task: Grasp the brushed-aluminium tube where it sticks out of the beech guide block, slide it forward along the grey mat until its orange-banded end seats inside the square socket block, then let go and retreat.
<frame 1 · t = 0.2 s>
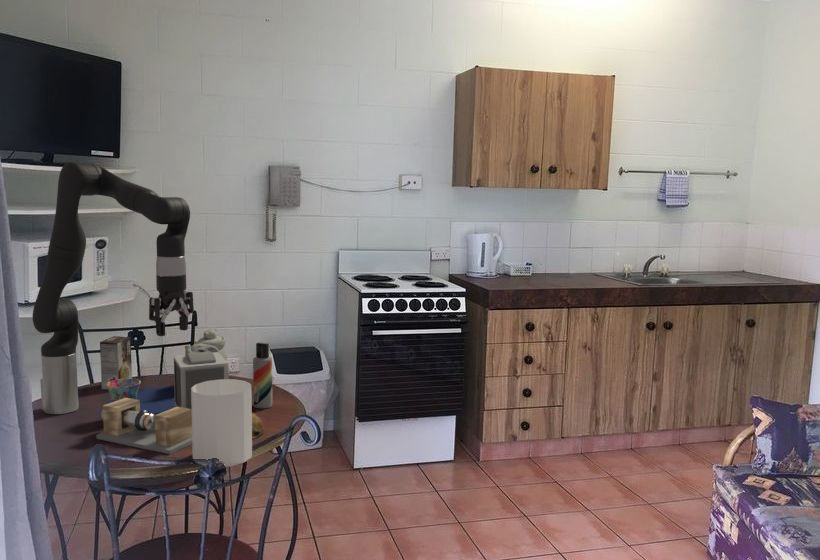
hand: (172, 332, 186), 28 cm above the table, fingers open, 8 cm apart
lotion bottle: (263, 406, 215), on the table
guide block: (122, 433, 189), resting on base mat
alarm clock: (201, 414, 207), on the table
base mat: (149, 438, 185), on the table
socket block: (174, 444, 182), resting on base mat
teapot: (204, 385, 236), on the table
tube: (129, 417, 187), point 5 cm above the table, slide at 0.0 cm
bread roll: (243, 435, 190), on the table
container: (223, 457, 174), on the table
coffee box: (117, 386, 233), on the table
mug: (127, 417, 203), on the table
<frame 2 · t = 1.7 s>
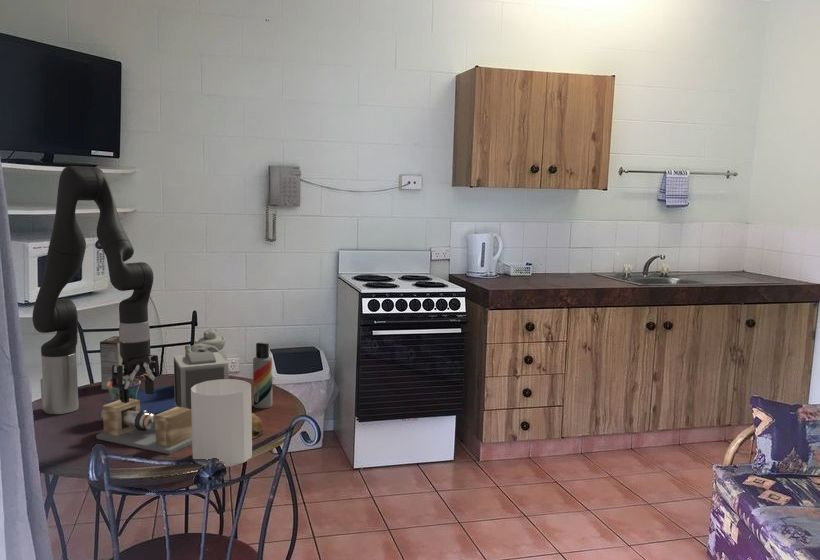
hand: (137, 398, 185), 11 cm above the table, fingers open, 8 cm apart
nothing on the table moved.
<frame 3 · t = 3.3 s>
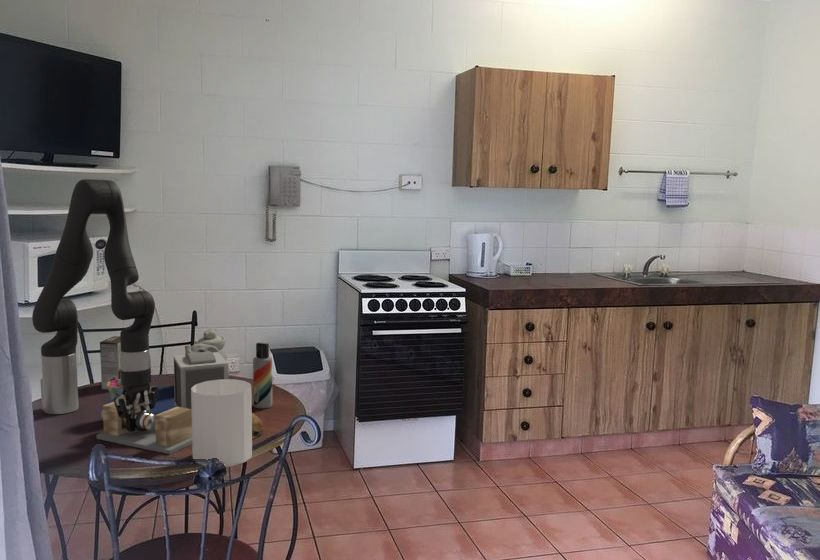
hand: (137, 428, 186), 2 cm above the table, fingers closed on tube, 4 cm apart
tube: (129, 417, 187), point 5 cm above the table, slide at 0.0 cm, touching gripper
everything else where it was.
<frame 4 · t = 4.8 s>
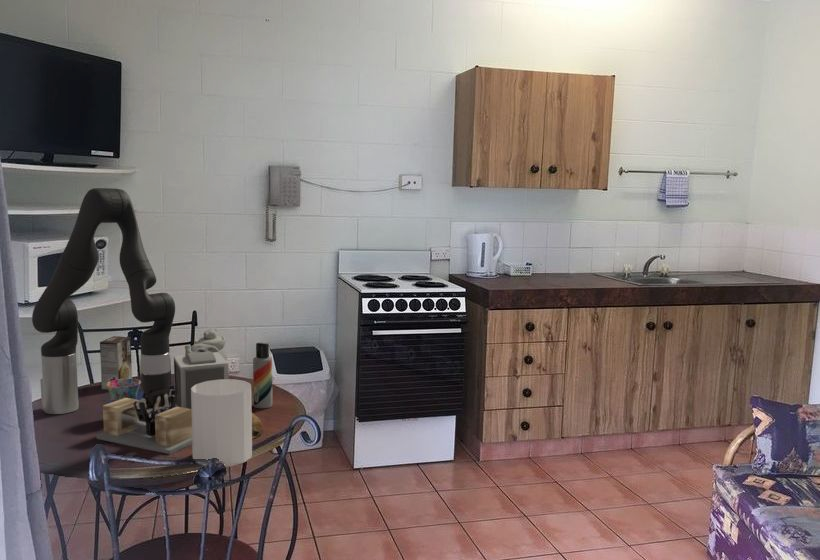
hand: (157, 432, 184), 2 cm above the table, fingers closed on tube, 4 cm apart
tube: (148, 421, 185), point 5 cm above the table, slide at 6.9 cm, touching gripper
everything else where it was.
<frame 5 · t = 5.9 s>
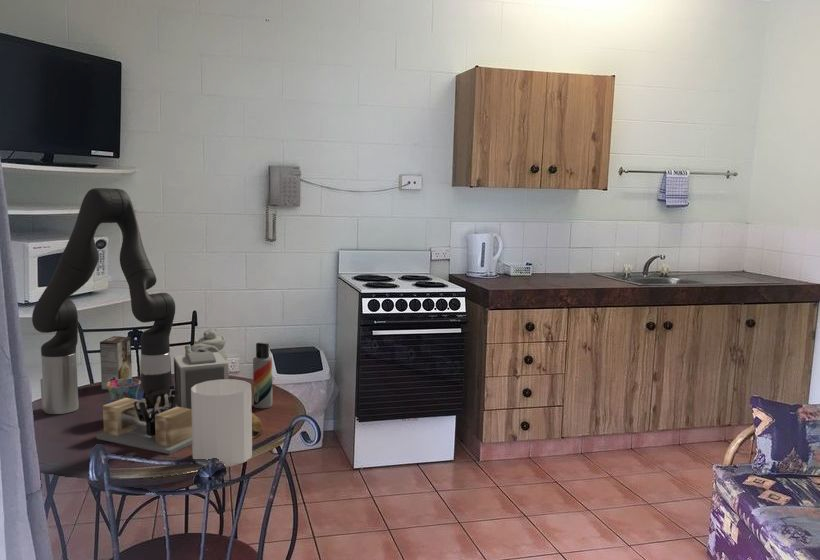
hand: (157, 432, 184), 2 cm above the table, fingers closed on tube, 4 cm apart
tube: (148, 421, 185), point 5 cm above the table, slide at 7.0 cm, touching gripper
everything else where it was.
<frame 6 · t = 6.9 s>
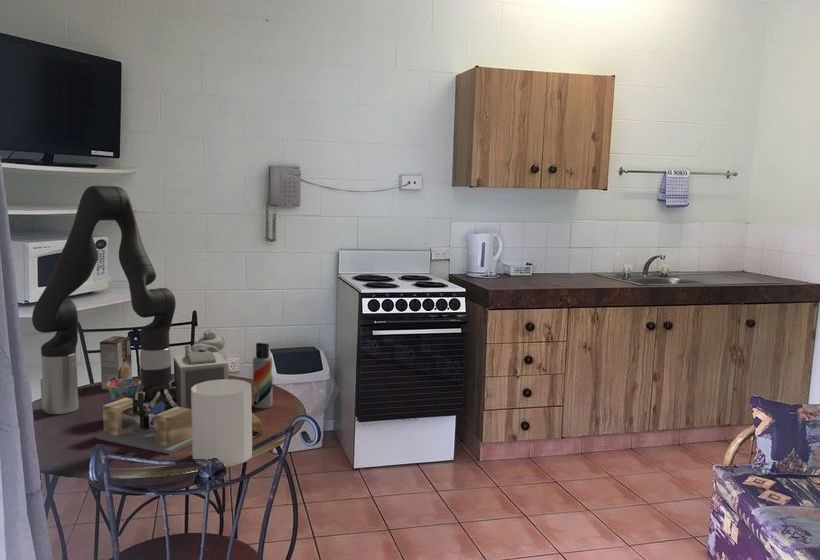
hand: (157, 424, 184), 4 cm above the table, fingers open, 8 cm apart
tube: (148, 421, 185), point 5 cm above the table, slide at 7.0 cm
everything else where it was.
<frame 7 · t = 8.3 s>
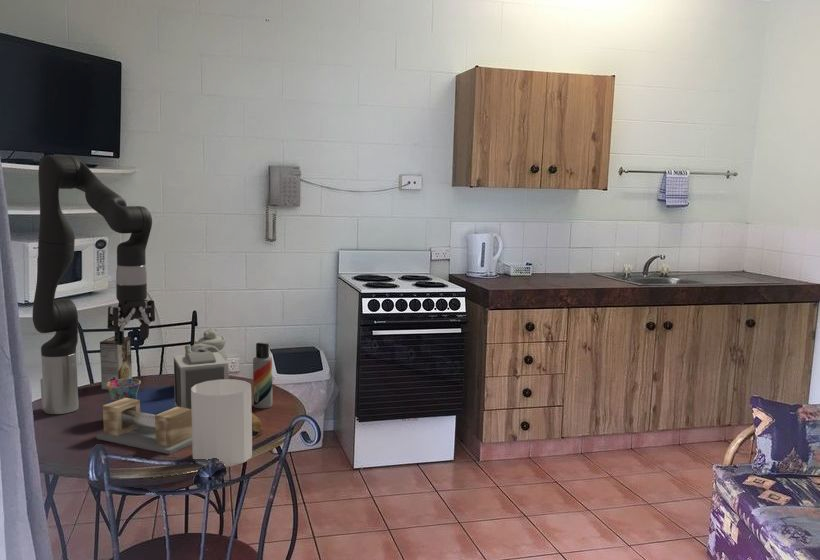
hand: (132, 341, 187), 25 cm above the table, fingers open, 8 cm apart
nothing on the table moved.
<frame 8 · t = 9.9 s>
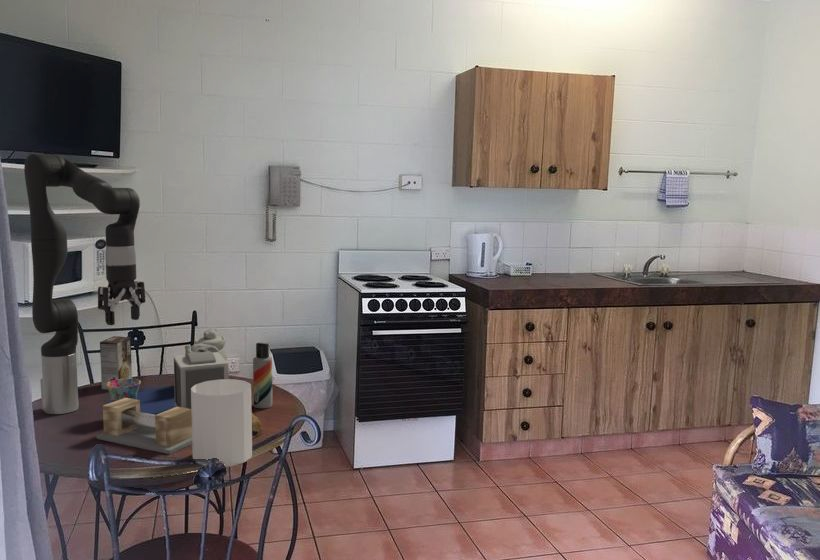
hand: (123, 322, 188), 30 cm above the table, fingers open, 8 cm apart
nothing on the table moved.
at the end: tube slide at 7.0 cm; the gripper is holding nothing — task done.
